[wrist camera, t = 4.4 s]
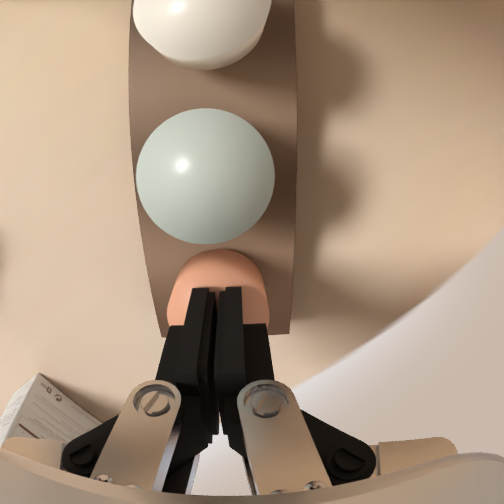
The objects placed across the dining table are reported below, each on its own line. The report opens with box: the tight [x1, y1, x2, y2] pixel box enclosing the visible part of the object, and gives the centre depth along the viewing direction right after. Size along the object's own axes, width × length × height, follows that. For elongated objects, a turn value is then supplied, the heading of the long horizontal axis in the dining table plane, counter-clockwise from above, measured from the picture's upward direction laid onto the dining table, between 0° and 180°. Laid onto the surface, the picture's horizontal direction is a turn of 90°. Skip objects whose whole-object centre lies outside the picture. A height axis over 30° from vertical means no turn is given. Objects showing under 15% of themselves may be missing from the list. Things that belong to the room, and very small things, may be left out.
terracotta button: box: [167, 249, 270, 328], centre depth 11 cm, size 4×4×2 cm
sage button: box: [136, 108, 275, 244], centre depth 8 cm, size 4×4×2 cm
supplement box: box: [0, 374, 103, 448], centre depth 13 cm, size 7×7×13 cm
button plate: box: [129, 0, 297, 337], centre depth 11 cm, size 16×6×2 cm, turn 1°
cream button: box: [133, 0, 271, 70], centre depth 6 cm, size 4×4×2 cm
